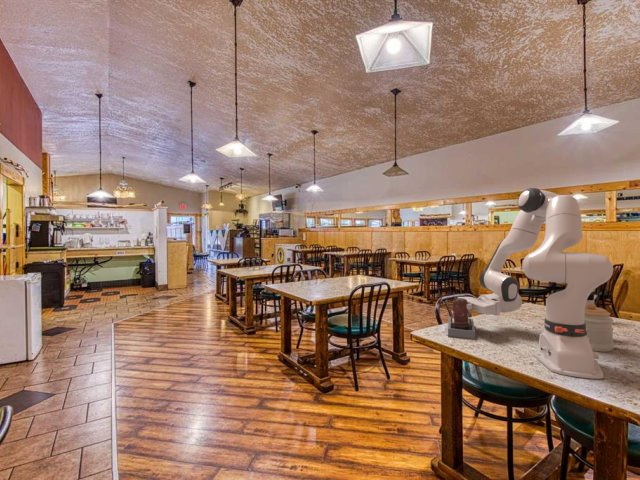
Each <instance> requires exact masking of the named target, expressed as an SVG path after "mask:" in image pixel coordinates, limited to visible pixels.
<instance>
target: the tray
mask: <svg viewBox="0 0 640 480" xmlns="http://www.w3.org/2000/svg"><path fill="white" fill-rule="evenodd" d="M453 318H454V316H448V324H447V325H448V326H447V337H448V338H458V339H465V340H466V339H467V340H476V329H475V323H474V319H473V318H471V317H470V318H469V317H468V319H469V321H470V324H468V325H469V329H468V330H462V329H455V328H454V323H453V322H452V319H453Z"/></svg>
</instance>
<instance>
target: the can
mask: <svg viewBox="0 0 640 480" xmlns="http://www.w3.org/2000/svg"><path fill="white" fill-rule="evenodd" d="M451 302H452V314H453V316H452V317H454V328H455V329H462V330H468V329H469V325H468V318H469V314H468V311H469V310H468V309H467V305H466V304H468V303H467V300H466V299H463V298H458V297H456V298H453V299H452V301H451Z"/></svg>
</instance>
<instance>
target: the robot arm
mask: <svg viewBox="0 0 640 480" xmlns="http://www.w3.org/2000/svg"><path fill="white" fill-rule="evenodd" d="M517 207H518V209H519V210H520V211H518V213H517V215H516V217H515V218H514V221H513V223H512V225H511V228H510V230H509V232H508V233H507V235H506V237H505V238H504V239H503V240H501V241H500V243H499V244H498V246H497V247H496V249H495V251H494V253H493V255H492V256H491V258H490V261H488V264H487V266H486V267H485V269H483V271H482V272H481V274H480V276H479V282H480V286H481V287H482V288H483V289H486V290H488V291H492V293H489V294H487V293H486V294H480V295H479V296H478V297H477V298H475V297H472V296H458V297H457V298H463V299H466V300H467V303H468V304H466V305H467V310H471V311H474V312H477V313H479V314H481V315H486V316H488V315H489V316H490V315H492V316H493V315H494V316H497V317H498V316H501V314H502V313H510V312H512V313H513V312H516V311H518V310H519V309H521V308H522V304H523V300H522V296H521V295H520V294H519V290H520V288H519V281H518V280H517V279H516V278H515V277H513V276H511V275H507V274H505V273H502V271H501V270H502V268H503V267H504V265H505V263H506V262H507V259H508V257H510V255H512V254H514V253H518V252H525V251H528V250H530V249H532V248H533V247H534V245H535V244H536V242H537V240H538V237H539V235H540V233H541V229H542V226H543V224H544V223H545V231H544V238H543V240H542V243H541V244H540V245H539V247H537V249H535V250H534V251H532V252H530V253H528V254H527V255H526V256H525V257H524V258H523V260H522V264H521V266H522V271H523V273H524V276H526V277H527V278H528V279H530V280H534V281H539V282H546V283H547V282H548V283H562V284H563V283H564V284H567V286H566V287H565V289H562V290H559V291H556V292H554V293H551V294H550V295H549V296H547V298H546V300H545V318H544V322H543V325H544V330H543V331H542V332H541V333H539V339H538V340H539V341H538V351H535V352H533V357H535V359H537V360H538V361H539V362H540V363H542V364H543V366H545V367H546V368H547V369H548V370H550V371H551V372H553V373H556V374H560V375H563V376H564V375H565V376H569V377H576V378H582V379H583V378H584V379H595V380H597V379H599V380H600V379H604V376H605V375H604V373H603V370H602V368H601V366H600V364H599V361H598V360H599V359H600V353H599V351H592V349H594V345H590V342H589V338H588V337H587V336H586V335H587V328H586V324H585V323H584V315H585V305H586V301H587V298H588V296H589V295H590V293H591V292H592V291H593V290H594V289H595V290H596V289H597V288H598V287H599V286H601V285H603V284H605V283H607V282H608V281H609V280H610V279H611V278H612V276H613V273H614V266H613V263H612V262H611V260H610V258H608V257H607V256H606V255H603V254H598V253H591V252H570V251H569V252H568V251H567V252H565V250H566V249H571V248H573V247H574V246H576V245H577V244H579V243H580V242H581V241H582V239H583V224H582V223H583V221H582V214H581V209H580V206H579V203H578V201H577V199H576V197H574V196H572V195H569V194H558V193H555V192H552V191H548V190H544V189H539V188H537V187H528V188H526V189H524V190H522V192H521V193H520V194H519V196H518V198H517Z"/></svg>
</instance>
